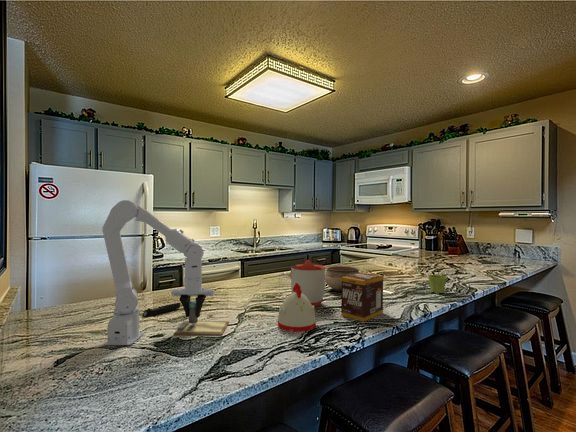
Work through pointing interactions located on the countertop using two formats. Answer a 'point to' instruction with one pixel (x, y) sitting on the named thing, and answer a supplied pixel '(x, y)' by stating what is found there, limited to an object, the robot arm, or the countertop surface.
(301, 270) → the citrus juicer
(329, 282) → the cooking pot
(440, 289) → the plant pot
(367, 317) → the supplement box
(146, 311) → the electric trimmer
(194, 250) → the robot arm
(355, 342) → the countertop surface
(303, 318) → the kitchen timer
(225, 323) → the clipboard
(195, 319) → the marker
